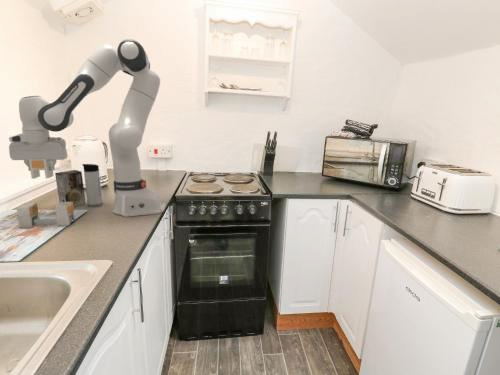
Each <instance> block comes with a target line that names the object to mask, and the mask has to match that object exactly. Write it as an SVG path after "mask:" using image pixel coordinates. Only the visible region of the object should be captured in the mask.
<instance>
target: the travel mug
mask: <svg viewBox="0 0 500 375" xmlns="http://www.w3.org/2000/svg"><path fill="white" fill-rule="evenodd" d="M82 166H83V175H84V182H85V183H84V184H85V191H86V193H85V194H86V199H87V201H86V202H87V206H88V207H91V208H93V207H94V208H95V207H100V206H102V205H103V197H102V196H103V195H102V186H101V176H100V175H101V174H100V168H99V166H100V165H99V164H94V163H93V164H92V163H82Z"/></svg>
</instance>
